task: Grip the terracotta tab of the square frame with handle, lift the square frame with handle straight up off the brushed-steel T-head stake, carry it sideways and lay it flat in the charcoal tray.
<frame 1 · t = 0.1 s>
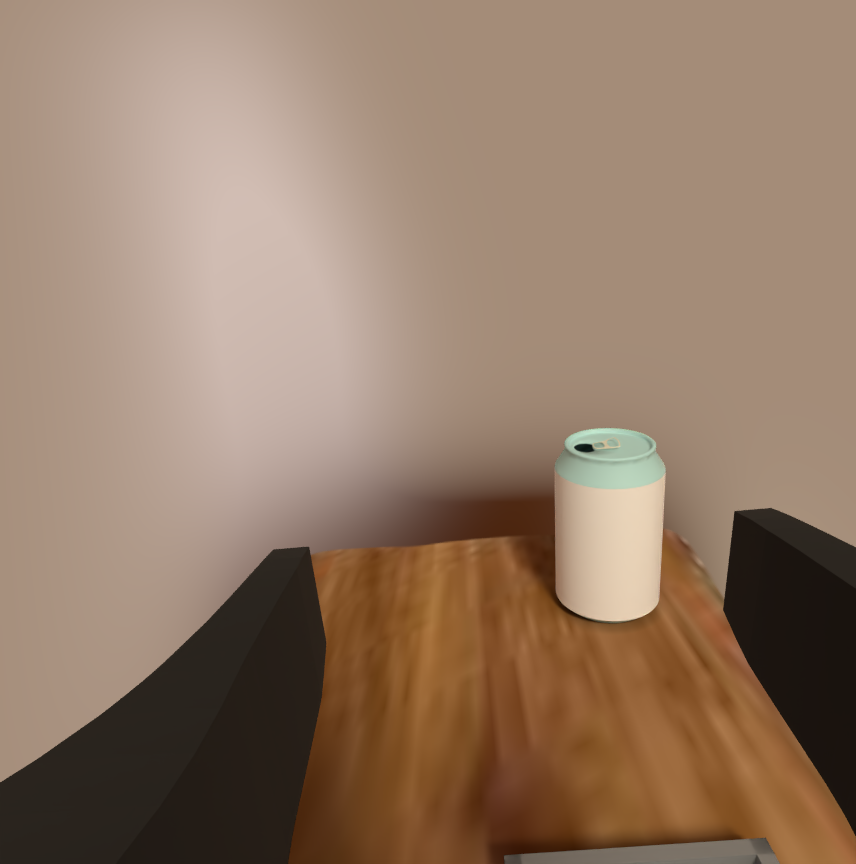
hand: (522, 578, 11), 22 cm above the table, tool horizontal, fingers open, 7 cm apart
can: (606, 602, 48), on the table
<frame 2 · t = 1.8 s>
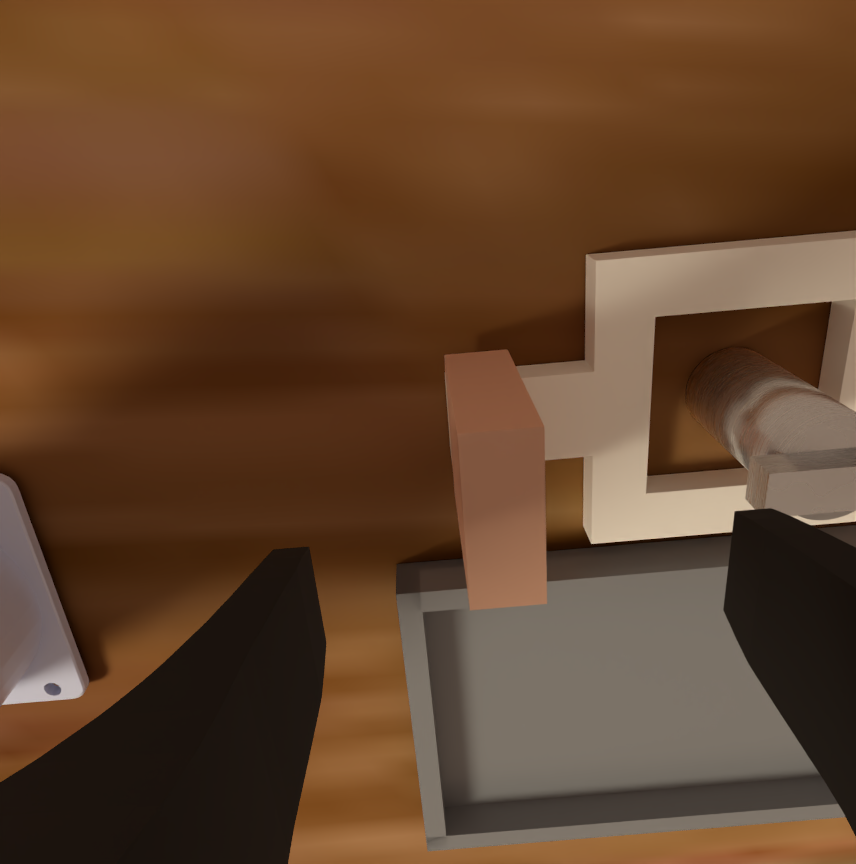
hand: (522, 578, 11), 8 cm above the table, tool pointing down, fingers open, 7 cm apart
tray: (643, 680, 23), on the table
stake: (728, 389, 19), on the table
square frame with handle: (728, 389, 19), on the table
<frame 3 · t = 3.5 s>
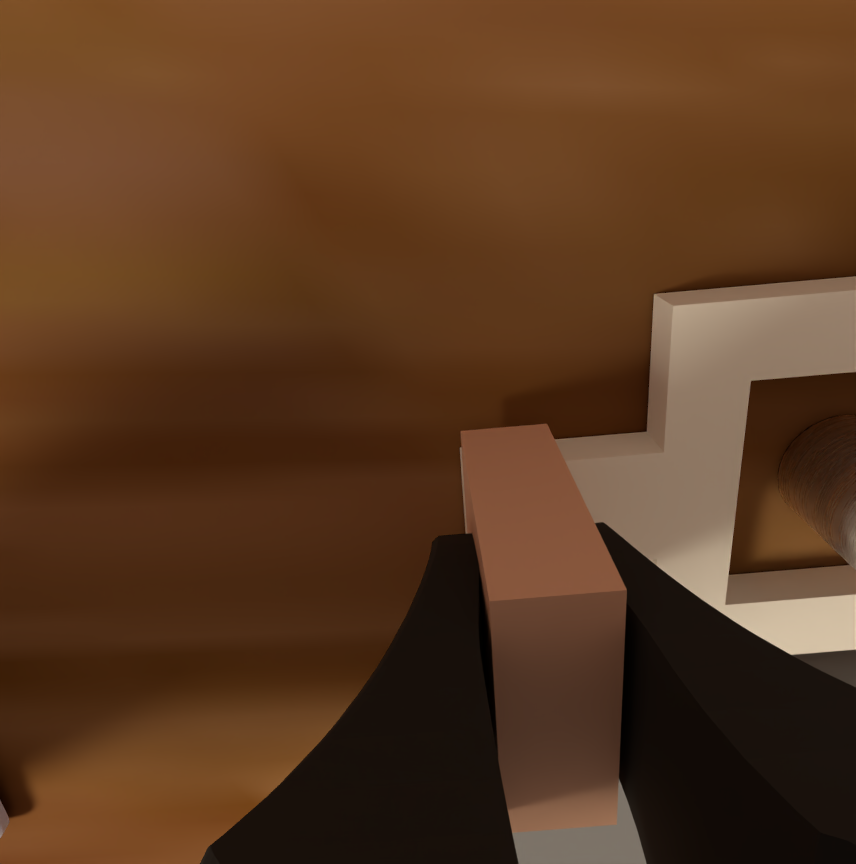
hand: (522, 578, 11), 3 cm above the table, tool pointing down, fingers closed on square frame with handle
tray: (704, 813, 18), on the table
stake: (835, 467, 14), on the table
square frame with handle: (835, 467, 14), on the table, touching gripper
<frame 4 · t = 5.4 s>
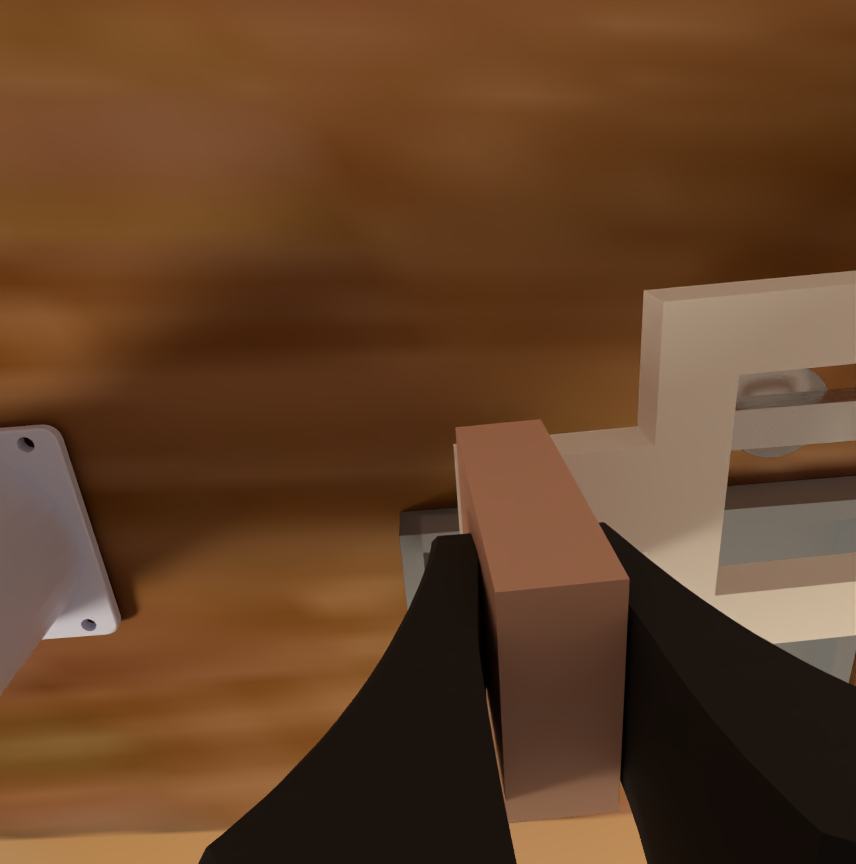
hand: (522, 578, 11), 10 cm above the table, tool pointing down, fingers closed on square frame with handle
tray: (623, 623, 25), on the table
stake: (697, 352, 21), on the table
square frame with handle: (819, 459, 14), point 7 cm above the table, touching gripper
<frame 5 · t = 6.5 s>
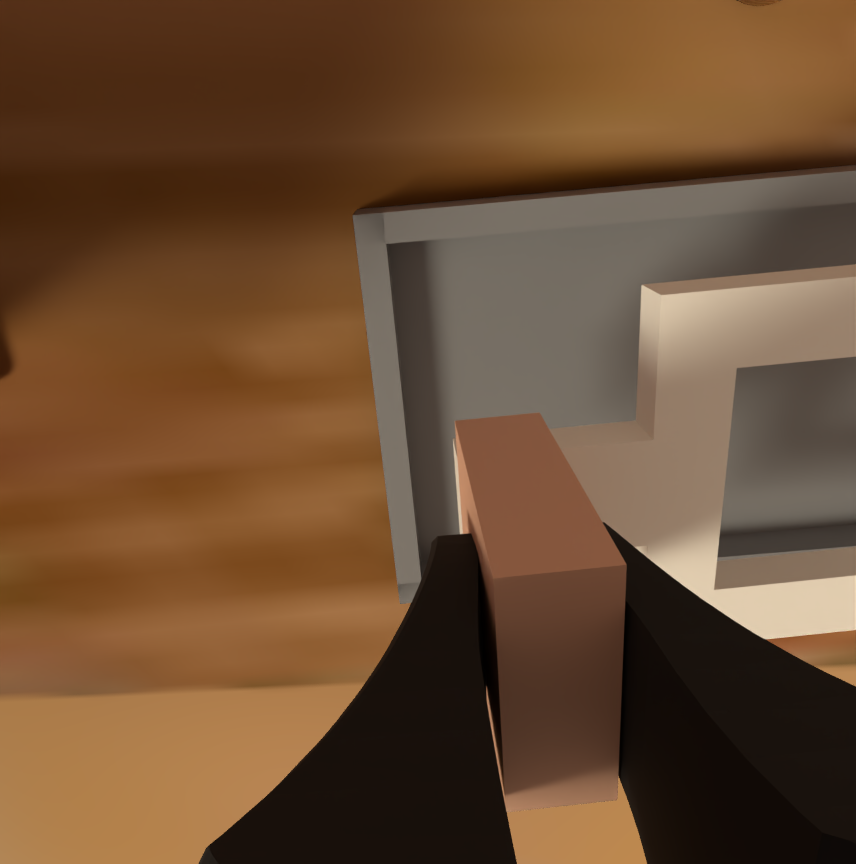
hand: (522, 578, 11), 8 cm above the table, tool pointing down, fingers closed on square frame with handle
tray: (657, 388, 19), on the table
square frame with handle: (818, 453, 14), point 5 cm above the table, touching gripper
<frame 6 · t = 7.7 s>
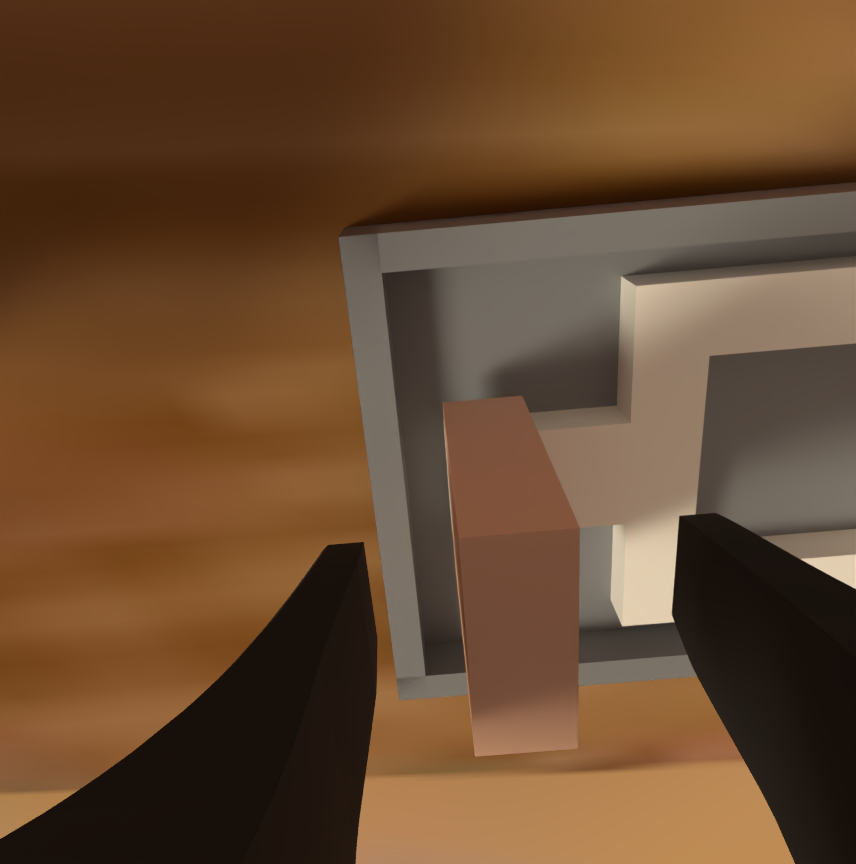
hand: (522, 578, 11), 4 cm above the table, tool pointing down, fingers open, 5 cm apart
tray: (713, 443, 16), on the table
square frame with handle: (793, 440, 15), resting on tray
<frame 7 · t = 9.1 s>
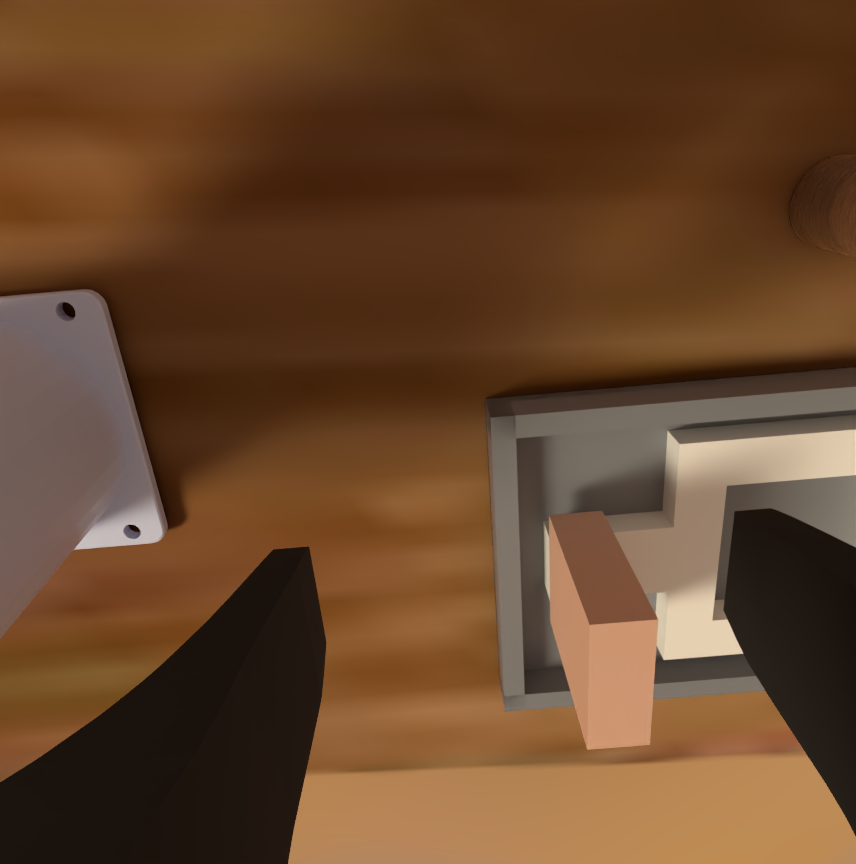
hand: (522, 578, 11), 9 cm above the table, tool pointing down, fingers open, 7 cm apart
tray: (727, 533, 22), on the table
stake: (834, 202, 18), on the table
square frame with handle: (783, 532, 22), resting on tray
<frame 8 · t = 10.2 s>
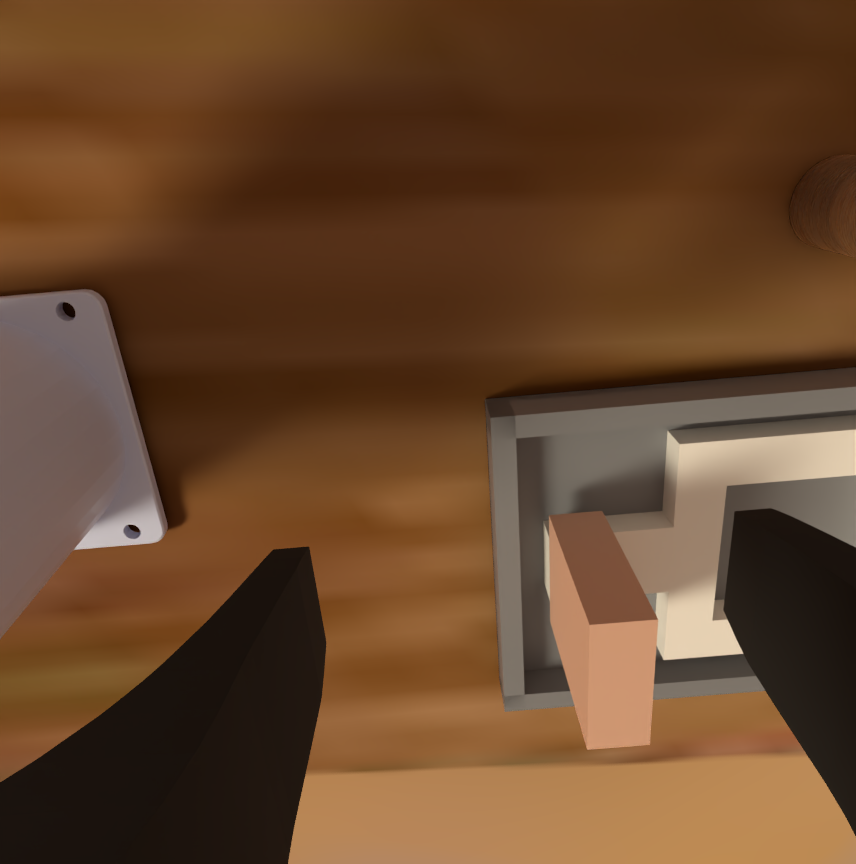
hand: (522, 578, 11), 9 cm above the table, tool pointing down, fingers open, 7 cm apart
tray: (727, 533, 22), on the table
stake: (834, 202, 18), on the table
square frame with handle: (783, 532, 22), resting on tray
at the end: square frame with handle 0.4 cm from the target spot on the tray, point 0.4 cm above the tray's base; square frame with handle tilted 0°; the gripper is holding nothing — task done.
